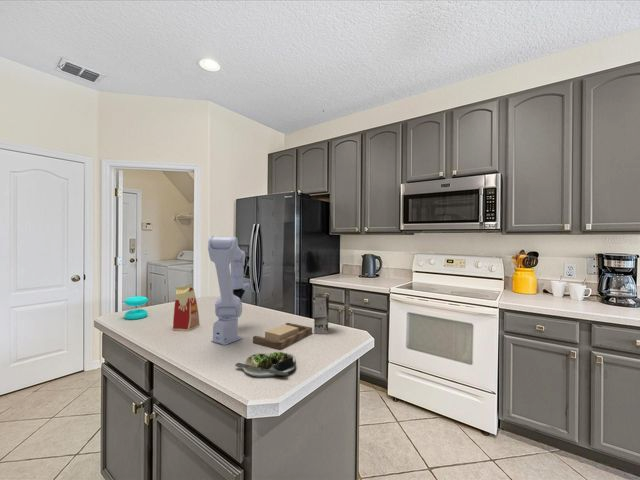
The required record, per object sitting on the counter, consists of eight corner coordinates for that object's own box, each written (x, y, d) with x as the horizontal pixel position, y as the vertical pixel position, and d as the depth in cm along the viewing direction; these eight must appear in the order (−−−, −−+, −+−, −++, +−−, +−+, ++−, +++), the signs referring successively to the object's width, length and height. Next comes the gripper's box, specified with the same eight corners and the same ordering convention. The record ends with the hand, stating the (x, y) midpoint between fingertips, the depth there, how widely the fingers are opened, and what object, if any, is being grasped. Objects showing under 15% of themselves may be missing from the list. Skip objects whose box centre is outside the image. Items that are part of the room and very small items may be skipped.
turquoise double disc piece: (120, 298, 150) (141, 295, 158) (120, 318, 150) (141, 313, 158) (130, 300, 144) (151, 297, 153) (130, 321, 145) (151, 316, 153)
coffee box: (328, 334, 131) (329, 297, 131) (313, 333, 131) (314, 297, 131) (328, 327, 140) (328, 293, 140) (314, 327, 140) (315, 293, 140)
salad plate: (229, 382, 88) (230, 366, 88) (240, 357, 105) (240, 344, 105) (295, 380, 90) (296, 365, 89) (295, 356, 107) (295, 343, 107)
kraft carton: (279, 345, 118) (279, 335, 118) (265, 341, 122) (265, 331, 122) (298, 337, 128) (298, 327, 128) (284, 333, 132) (284, 324, 132)
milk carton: (199, 325, 140) (200, 282, 140) (189, 331, 131) (189, 286, 131) (181, 324, 141) (181, 282, 141) (169, 330, 132) (170, 285, 132)
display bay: (279, 350, 112) (279, 343, 112) (252, 342, 119) (252, 336, 119) (312, 333, 132) (312, 327, 132) (287, 328, 139) (287, 322, 139)
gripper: (242, 273, 145) (242, 301, 145) (218, 277, 132) (218, 307, 133) (253, 274, 141) (252, 303, 142) (229, 278, 129) (229, 310, 129)
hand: (236, 305), depth 137 cm, fingers closed
